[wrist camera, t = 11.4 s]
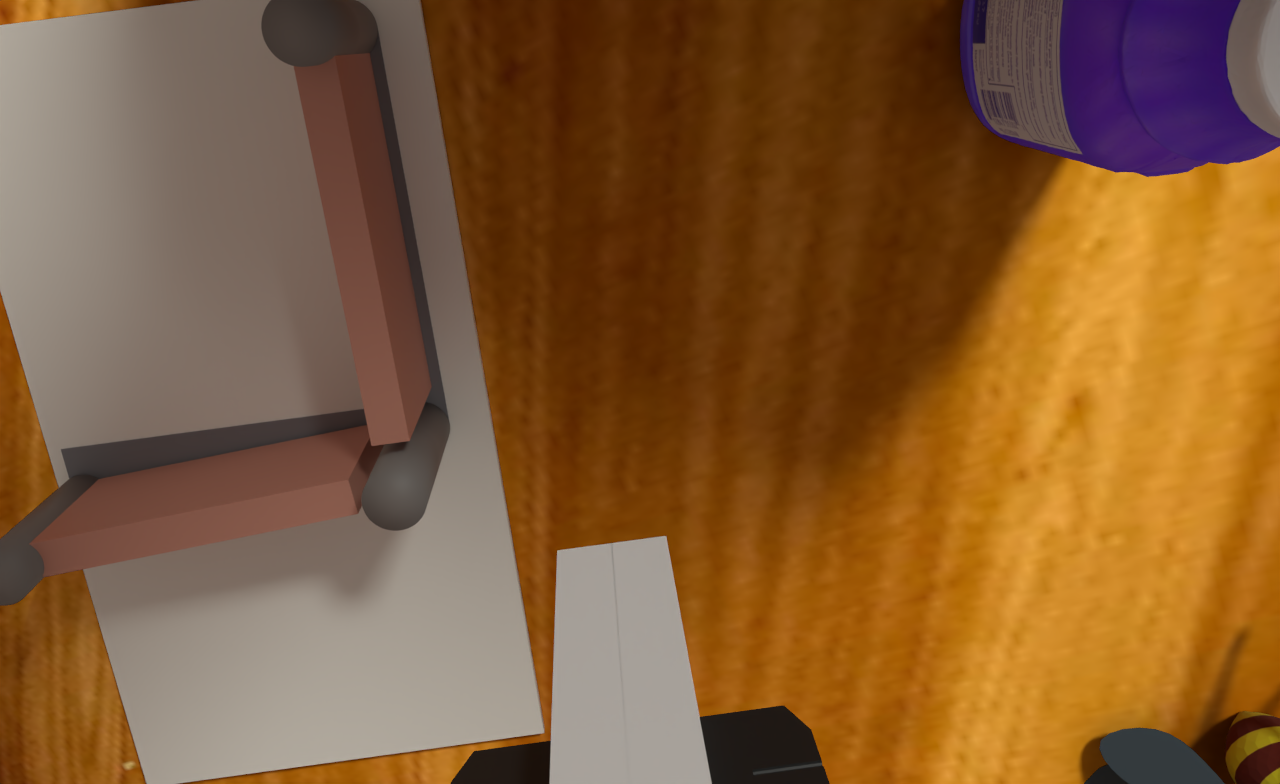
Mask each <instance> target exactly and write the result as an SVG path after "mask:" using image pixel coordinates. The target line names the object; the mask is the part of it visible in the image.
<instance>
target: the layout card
mask: <svg viewBox="0 0 1280 784" xmlns="http://www.w3.org/2000/svg"><path fill="white" fill-rule="evenodd" d="M270 1H271V0H196V1H188V2H180V3H172V4H164V5H156V6H148V7H141V8H133V9H125V10H117V11H109V12H101V13H93V14H85V15H77V16H70V17H62V18H54V19H46V20H38V21H30V22H22V23H14V24H6V25H0V292H1V295H2V298H3V302H4V305H5V308H6V312H7V315H8V319H9V322H10V325H11V329H12V332H13V335H14V339H15V342H16V345H17V349H18V352H19V356H20V359H21V362H22V366H23V369H24V372H25V376H26V379H27V383H28V386H29V389H30V393H31V396H32V399H33V403H34V406H35V409H36V413H37V416H38V420H39V423H40V426H41V430H42V433H43V436H44V440H45V443H46V447H47V450H48V453H49V457H50V460H51V463H52V467H53V470H54V474H55V477H56V480H57V484H58V487H60V486H62V485H63V484H64V483H65V482H66V481H67V480H69V479H70V478H72V477H74V476H77V475H91V476H94V477H96V478H98V479H102V478H106V477H111V476H116V475H121V474H126V473H131V472H136V471H141V470H146V469H151V468H156V467H161V466H166V465H171V464H176V463H181V462H186V461H191V460H196V459H201V458H206V457H211V456H215V455H220V454H225V453H230V452H235V451H240V450H245V449H250V448H255V447H260V446H265V445H270V444H275V443H280V442H285V441H290V440H295V439H300V438H305V437H310V436H315V435H320V434H324V433H329V432H334V431H339V430H344V429H349V428H354V427H359V426H364V425H367V421H366V416H365V412H364V407H363V402H362V397H361V392H360V387H359V382H358V377H357V373H356V368H355V363H354V358H353V353H352V348H351V343H350V338H349V334H348V329H347V324H346V319H345V314H344V309H343V304H342V300H341V295H340V290H339V285H338V280H337V275H336V270H335V265H334V261H333V256H332V251H331V246H330V241H329V236H328V231H327V226H326V222H325V217H324V212H323V207H322V202H321V197H320V192H319V188H318V183H317V178H316V173H315V168H314V163H313V158H312V153H311V149H310V144H309V139H308V134H307V129H306V124H305V119H304V114H303V110H302V105H301V100H300V95H299V90H298V85H297V80H296V76H295V71H294V66H292V65H289V64H286V63H284V62H282V61H281V60H279V59H278V58H277V57H276V56H275V55H274V54H273V53H272V52H271V51H270V50H269V48H268V47H267V45H266V43H265V41H264V38H263V35H262V29H261V22H262V16H263V12H264V10H265V8H266V6H267V4H268V3H269V2H270ZM356 1H359V2H361V3H362V4H364V5H365V6H366V7H367V8H368V9H369V10H370V11H371V12H372V14H373V16H374V17H375V20H376V22H377V29H378V36H377V41H376V44H375V46H374V48H373V50H372V51H371V52H370V57H371V62H372V68H373V73H374V79H375V84H376V89H377V95H378V100H379V106H380V111H381V116H382V122H383V127H384V133H385V138H386V143H387V149H388V154H389V159H390V165H391V170H392V176H393V181H394V186H395V192H396V197H397V203H398V208H399V213H400V219H401V224H402V230H403V235H404V240H405V246H406V251H407V257H408V262H409V267H410V273H411V278H412V284H413V289H414V294H415V300H416V305H417V311H418V316H419V321H420V327H421V332H422V338H423V343H424V348H425V354H426V359H427V364H428V370H429V375H430V381H431V386H432V387H431V390H430V392H429V395H428V397H427V400H426V402H427V403H431V404H433V405H436V406H437V407H439V408H440V409H441V410H442V411H443V412H444V413H445V414H446V416H447V418H448V420H449V424H450V434H449V437H448V440H447V444H446V447H445V450H444V453H443V456H442V460H441V463H440V466H439V469H438V472H437V475H436V479H435V482H434V485H433V488H432V491H431V494H430V498H429V501H428V504H427V507H426V510H425V513H424V515H423V517H422V518H421V519H420V521H419V522H418V523H416V524H415V525H414V526H412V527H410V528H408V529H405V530H399V531H392V530H386V529H383V528H381V527H379V526H377V525H375V524H374V523H373V522H372V521H370V520H369V518H368V517H367V516H366V514H365V512H364V510H363V507H361V509H360V511H359V513H358V514H355V515H350V516H345V517H340V518H335V519H330V520H326V521H321V522H316V523H311V524H306V525H301V526H296V527H291V528H286V529H281V530H276V531H271V532H266V533H261V534H256V535H251V536H246V537H241V538H236V539H231V540H226V541H221V542H216V543H211V544H206V545H201V546H196V547H191V548H187V549H182V550H177V551H172V552H167V553H162V554H157V555H152V556H147V557H142V558H137V559H132V560H127V561H122V562H117V563H112V564H107V565H102V566H97V567H92V568H87V569H83V571H84V575H85V578H86V581H87V585H88V588H89V591H90V595H91V598H92V602H93V605H94V608H95V612H96V615H97V618H98V622H99V625H100V629H101V632H102V635H103V639H104V642H105V645H106V649H107V652H108V655H109V659H110V662H111V666H112V669H113V672H114V676H115V679H116V682H117V686H118V689H119V693H120V696H121V699H122V703H123V706H124V709H125V713H126V716H127V719H128V723H129V726H130V730H131V733H132V736H133V740H134V743H135V746H136V750H137V753H138V757H139V760H140V763H141V767H142V770H143V773H144V777H145V780H146V784H178V783H186V782H193V781H200V780H207V779H215V778H222V777H229V776H236V775H244V774H251V773H258V772H265V771H273V770H280V769H287V768H294V767H302V766H309V765H316V764H324V763H331V762H338V761H345V760H353V759H360V758H367V757H374V756H382V755H389V754H396V753H403V752H411V751H418V750H425V749H432V748H440V747H447V746H454V745H461V744H469V743H476V742H483V741H491V740H498V739H505V738H512V737H520V736H527V735H534V734H541V733H544V722H543V716H542V710H541V704H540V698H539V693H538V687H537V681H536V675H535V669H534V663H533V657H532V651H531V646H530V640H529V634H528V628H527V622H526V616H525V610H524V604H523V599H522V593H521V587H520V581H519V575H518V569H517V563H516V557H515V552H514V546H513V540H512V534H511V528H510V522H509V516H508V510H507V505H506V499H505V493H504V487H503V481H502V475H501V469H500V464H499V458H498V452H497V446H496V440H495V434H494V428H493V422H492V417H491V411H490V405H489V399H488V393H487V387H486V381H485V375H484V370H483V364H482V358H481V352H480V346H479V340H478V334H477V328H476V323H475V317H474V311H473V305H472V299H471V293H470V287H469V281H468V276H467V270H466V264H465V258H464V252H463V246H462V240H461V234H460V229H459V223H458V217H457V211H456V205H455V199H454V193H453V187H452V182H451V176H450V170H449V164H448V158H447V152H446V146H445V140H444V135H443V129H442V123H441V117H440V111H439V105H438V99H437V93H436V88H435V82H434V76H433V70H432V64H431V58H430V52H429V46H428V41H427V35H426V29H425V23H424V17H423V11H422V5H421V0H356Z"/></svg>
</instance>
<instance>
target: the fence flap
mask: <svg viewBox="0 0 1280 784" xmlns="http://www.w3.org/2000/svg"><path fill="white" fill-rule="evenodd" d="M383 446H384V445H376V446H371V441H370V436H369V431H368V426H367V425H364V426H359V427H354V428H349V429H344V430H339V431H334V432H329V433H324V434H320V435H315V436H310V437H305V438H300V439H295V440H290V441H285V442H280V443H275V444H270V445H265V446H260V447H255V448H250V449H245V450H240V451H235V452H230V453H225V454H220V455H215V456H211V457H206V458H201V459H196V460H191V461H186V462H181V463H176V464H171V465H166V466H161V467H156V468H151V469H146V470H141V471H136V472H131V473H126V474H121V475H116V476H111V477H106V478H102V479H98V478H96V477H94V476H91V475H77V476H74V477H72V478H70V479H69V480H67V481H66V482H65V483H64V484H63V485H62V486H60V487H59V488H58V489H57V490H56V491H55V492H54V493H52V494H51V495H50V496H49V497H48V498H47V499H46V500H44V501H43V502H42V503H41V504H40V505H39V506H38V507H36V508H35V509H34V510H33V511H32V512H31V513H30V514H28V515H27V516H26V517H25V518H24V519H23V520H22V521H20V522H19V523H18V524H17V525H16V526H15V527H14V528H12V529H11V530H10V531H9V532H8V533H7V534H6V535H4V536H3V537H2V538H1V539H0V605H11V604H15V603H17V602H19V601H20V600H22V599H23V598H24V597H25V596H26V595H27V594H28V593H29V592H30V591H31V590H32V589H33V588H34V587H35V586H36V585H37V584H38V583H39V582H40V581H41V580H42V579H43V578H44V577H48V576H52V575H57V574H62V573H67V572H72V571H77V570H82V569H87V568H92V567H97V566H102V565H107V564H112V563H117V562H122V561H127V560H132V559H137V558H142V557H147V556H152V555H157V554H162V553H167V552H172V551H177V550H182V549H187V548H191V547H196V546H201V545H206V544H211V543H216V542H221V541H226V540H231V539H236V538H241V537H246V536H251V535H256V534H261V533H266V532H271V531H276V530H281V529H286V528H291V527H296V526H301V525H306V524H311V523H316V522H321V521H326V520H330V519H335V518H340V517H345V516H350V515H355V514H358V513H359V511H360V509H361V507H362V502H361V497H362V492H363V489H364V487H365V485H366V483H367V480H368V478H369V476H370V474H371V472H372V470H373V468H374V465H375V463H376V461H377V459H378V457H379V455H380V453H381V450H382V448H383Z"/></svg>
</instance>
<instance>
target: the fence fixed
mask: <svg viewBox="0 0 1280 784" xmlns="http://www.w3.org/2000/svg"><path fill="white" fill-rule="evenodd" d="M261 29H262V35H263V38H264V41H265V43H266V45H267V47H268V48H269V50H270V51H271V52H272V53H273V54H274V55H275V56H276V57H277V58H278V59H279V60H281V61H282V62H284V63H286V64H289V65H292V66H294V71H295V76H296V80H297V85H298V90H299V95H300V100H301V105H302V110H303V114H304V119H305V124H306V129H307V134H308V139H309V144H310V149H311V153H312V158H313V163H314V168H315V173H316V178H317V183H318V188H319V192H320V197H321V202H322V207H323V212H324V217H325V222H326V226H327V231H328V236H329V241H330V246H331V251H332V256H333V261H334V265H335V270H336V275H337V280H338V285H339V290H340V295H341V300H342V304H343V309H344V314H345V319H346V324H347V329H348V334H349V338H350V343H351V348H352V353H353V358H354V363H355V368H356V373H357V377H358V382H359V387H360V392H361V397H362V402H363V407H364V412H365V416H366V421H367V426H368V431H369V436H370V441H371V446H376V445H384V446H383V448H382V450H381V453H380V455H379V457H378V459H377V461H376V463H375V465H374V468H373V470H372V472H371V474H370V476H369V478H368V480H367V483H366V485H365V487H364V489H363V492H362V497H361V502H362V507H363V510H364V512H365V514H366V516H367V517H368V518H369V520H370V521H372V522H373V523H374V524H375V525H377V526H379V527H381V528H383V529H386V530H392V531H399V530H405V529H408V528H410V527H412V526H414V525H415V524H416V523H418V522H419V521H420V519H421V518H422V517H423V515H424V513H425V510H426V507H427V504H428V501H429V498H430V494H431V491H432V488H433V485H434V482H435V479H436V475H437V472H438V469H439V466H440V463H441V460H442V456H443V453H444V450H445V447H446V444H447V440H448V437H449V434H450V424H449V420H448V418H447V416H446V414H445V413H444V412H443V411H442V410H441V409H440V408H439V407H437V406H436V405H433V404H431V403H427V402H426V400H427V397H428V395H429V392H430V390H431V387H432V386H431V381H430V375H429V370H428V364H427V359H426V354H425V348H424V343H423V338H422V332H421V327H420V321H419V316H418V311H417V305H416V300H415V294H414V289H413V284H412V278H411V273H410V267H409V262H408V257H407V251H406V246H405V240H404V235H403V230H402V224H401V219H400V213H399V208H398V203H397V197H396V192H395V186H394V181H393V176H392V170H391V165H390V159H389V154H388V149H387V143H386V138H385V133H384V127H383V122H382V116H381V111H380V106H379V100H378V95H377V89H376V84H375V79H374V73H373V68H372V62H371V57H370V52H371V51H372V50H373V48H374V46H375V44H376V41H377V36H378V29H377V22H376V20H375V17H374V16H373V14H372V12H371V11H370V10H369V9H368V8H367V7H366V6H365V5H364V4H362V3H361V2H359V1H356V0H271V1H270V2H269V3H268V4H267V6H266V8H265V10H264V12H263V16H262V22H261Z"/></svg>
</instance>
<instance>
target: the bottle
mask: <svg viewBox="0 0 1280 784" xmlns="http://www.w3.org/2000/svg"><path fill="white" fill-rule="evenodd" d="M960 55H961V67H962V74H963V80H964V85H965V89H966V93H967V96H968V98H969V101H970V104H971V106H972V108H973V110H974V112H975V114H976V115H977V117H978V118H979V120H980V121H981V122H982V124H983V125H984V126H985V127H986V128H988V129H989V130H990V131H991V132H993V133H994V134H996V135H998V136H999V137H1001V138H1003V139H1005V140H1008V141H1010V142H1013V143H1017V144H1019V145H1022V146H1025V147H1030V148H1034V149H1037V150H1041V151H1044V152H1048V153H1051V154H1055V155H1059V156H1062V157H1065V158H1069V159H1072V160H1077V161H1081V162H1084V163H1087V164H1090V165H1093V166H1096V167H1100V168H1104V169H1107V170H1111V171H1114V172H1135V173H1139V174H1141V175H1144V176H1147V177H1149V176H1160V175H1169V174H1178V173H1183V172H1188V171H1190V170H1192V169H1193V168H1194V167H1198V166H1202V165H1204V164H1206V163H1208V162H1211V163H1218V164H1229V163H1234V162H1242V161H1246V160H1250V159H1254V158H1257V157H1259V156H1261V155H1263V154H1265V153H1267V152H1269V151H1272V150H1274V149H1275V148H1277V147H1279V146H1280V0H964V2H963V7H962V16H961V26H960Z"/></svg>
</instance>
